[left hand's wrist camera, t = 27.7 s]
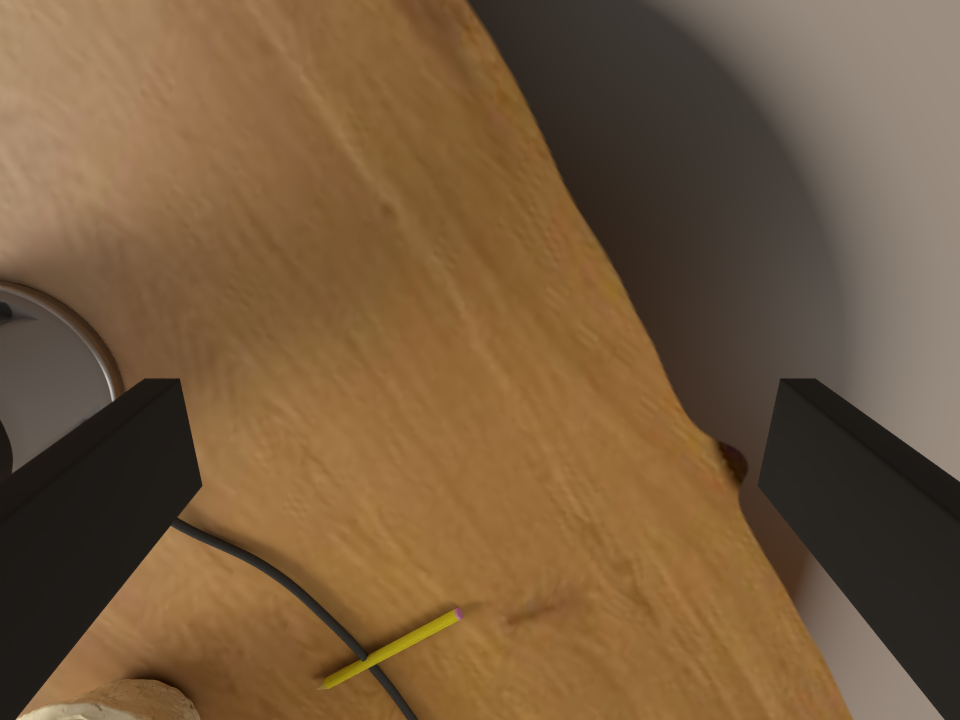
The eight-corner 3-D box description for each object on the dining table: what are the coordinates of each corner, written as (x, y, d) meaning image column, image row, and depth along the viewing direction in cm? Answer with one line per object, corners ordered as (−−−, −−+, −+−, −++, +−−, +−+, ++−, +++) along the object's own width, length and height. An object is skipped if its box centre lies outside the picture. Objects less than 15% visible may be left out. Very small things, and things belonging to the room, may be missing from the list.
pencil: (456, 604, 50) (456, 613, 49) (463, 612, 50) (463, 621, 49) (313, 681, 53) (310, 691, 52) (320, 688, 53) (317, 697, 52)
